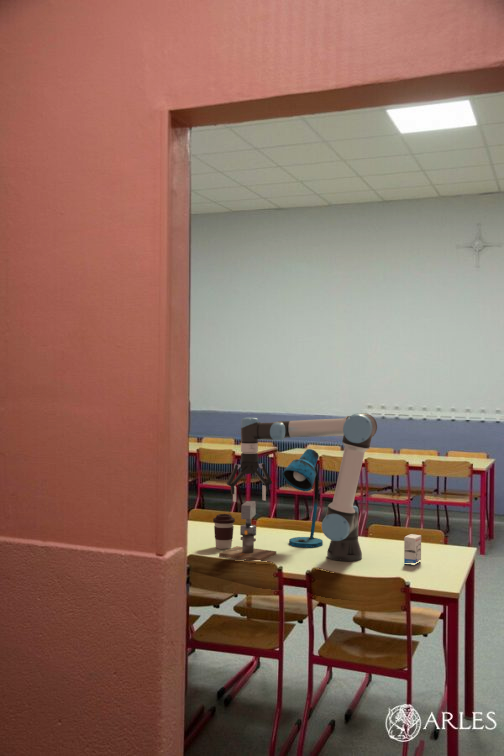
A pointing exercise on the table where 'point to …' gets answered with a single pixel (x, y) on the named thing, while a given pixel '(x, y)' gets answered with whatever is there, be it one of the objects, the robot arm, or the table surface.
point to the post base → (247, 556)
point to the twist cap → (248, 518)
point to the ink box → (412, 548)
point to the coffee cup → (223, 530)
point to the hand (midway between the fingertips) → (249, 501)
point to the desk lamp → (302, 479)
